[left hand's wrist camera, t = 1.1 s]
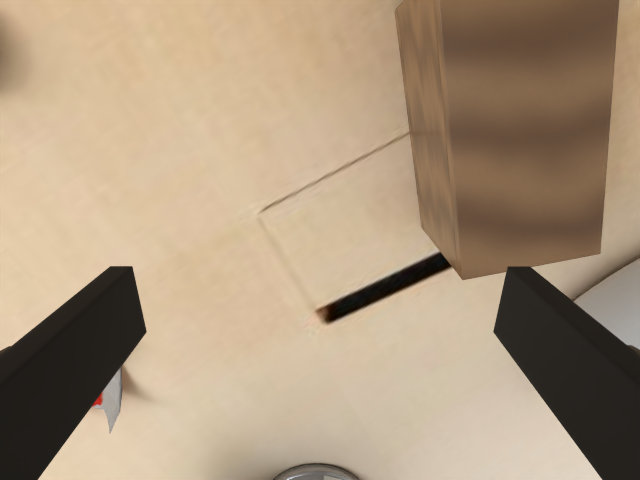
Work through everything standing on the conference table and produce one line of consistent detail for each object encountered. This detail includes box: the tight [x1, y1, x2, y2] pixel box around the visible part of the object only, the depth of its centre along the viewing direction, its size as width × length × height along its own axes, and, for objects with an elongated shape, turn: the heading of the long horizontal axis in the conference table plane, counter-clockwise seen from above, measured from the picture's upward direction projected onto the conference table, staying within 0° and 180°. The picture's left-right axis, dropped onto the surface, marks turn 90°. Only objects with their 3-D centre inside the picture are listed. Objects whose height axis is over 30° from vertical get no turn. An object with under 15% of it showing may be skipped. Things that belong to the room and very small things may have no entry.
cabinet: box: [395, 0, 619, 280], centre depth 29 cm, size 20×10×12 cm, turn 13°
